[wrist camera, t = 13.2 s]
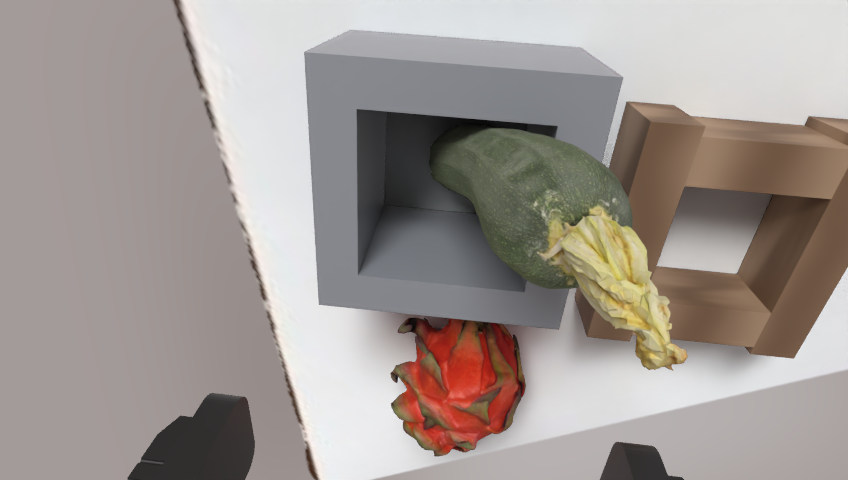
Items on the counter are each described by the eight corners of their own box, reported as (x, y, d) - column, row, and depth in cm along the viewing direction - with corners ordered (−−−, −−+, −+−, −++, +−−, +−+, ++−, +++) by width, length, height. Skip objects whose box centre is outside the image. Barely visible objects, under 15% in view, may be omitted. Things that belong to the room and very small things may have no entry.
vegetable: (431, 102, 27) (635, 169, 8) (502, 120, 28) (833, 217, 9) (412, 179, 28) (553, 391, 9) (482, 194, 29) (735, 412, 10)
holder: (580, 47, 25) (623, 77, 18) (539, 248, 31) (558, 329, 24) (350, 29, 25) (304, 51, 18) (353, 230, 31) (318, 304, 24)
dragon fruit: (429, 385, 40) (469, 256, 35) (517, 451, 35) (575, 312, 31) (353, 432, 33) (392, 280, 29) (450, 521, 29) (512, 356, 24)
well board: (858, 120, 25) (919, 144, 22) (758, 315, 32) (793, 358, 28) (626, 101, 26) (650, 121, 22) (574, 297, 32) (587, 336, 29)
